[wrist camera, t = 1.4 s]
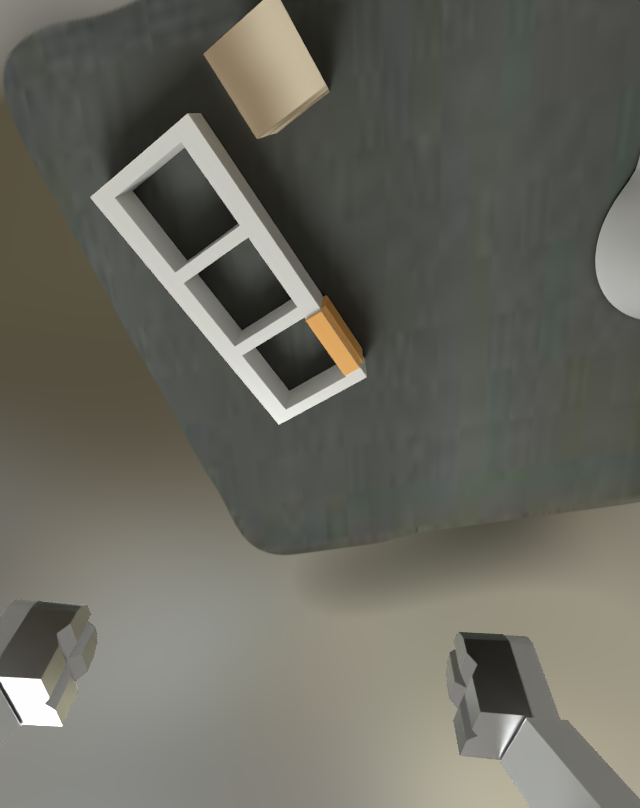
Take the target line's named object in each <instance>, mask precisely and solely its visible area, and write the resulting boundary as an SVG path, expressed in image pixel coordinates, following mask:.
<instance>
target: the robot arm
mask: <svg viewBox="0 0 640 808" xmlns="http://www.w3.org/2000/svg"><path fill="white" fill-rule="evenodd" d="M595 264H596V274H597V278H598V282H599V285H600V287H601V289H602V291H603V293H604V295H605V296H606V298H607V299H608V300H609V301H610V303H611V304H612V305H613V306H614V307H616V308H617V309H618V310H620V311H621V312H623V313H625V314H627V315H629V316H631V317H634V318H637V319H640V157H639V160H638V164H637V167H636V170H635V172H634V173H633V175H632V177H631V178H630V180H629V182H628V183H627V184H626V186H625V187H624V189H623V190H622V191H621V193H620V194H619V196H618V197H617V199H616V200H615V202H614V203H613V205H612V207H611V209H610V210H609V212H608V214H607V216H606V218H605V221H604V223H603V225H602V228H601V231H600V234H599V238H598V242H597V247H596V258H595ZM90 615H91V613H90V610H89V608H88V606H87V605H79V604H66V603H53V602H42V601H30V600H15V601H13V602H12V603H11V604H10V605H9V606H8V607H7V608H6V609H5V611H4V612H3V613H2V615H1V616H0V748H1V747H2V746H3V745H4V744H5V743H6V742H7V741H8V740H9V739H10V738H11V737H12V736H13V735H14V734H15V733H16V732H17V731H18V730H19V729H20V728H21V724H24V725H26V724H27V725H47V726H63V724H64V722H65V720H66V718H67V716H68V713H69V711H70V709H71V707H72V705H73V702H74V700H75V698H76V696H77V694H78V690H77V685H76V681H77V680H78V679H79V678H80V677H81V676H82V675H84V674H85V673H86V672H87V671H88V669H89V667H90V665H91V662H92V660H93V658H94V654H95V650H96V646H97V631H96V628H95V626H94V625H93V624H91V623H90V622H89V621H88V619H89V617H90ZM454 645H455V650H453V651H451V652H450V653H449V656H448V659H447V666H446V681H447V689H448V695H449V698H450V700H451V701H452V702H453V703H454V705H455V706H456V707H457V712H456V714H455V717H454V719H453V723H454V728H455V733H456V739H457V744H458V749H459V755H460V756H467V757H477V758H487V759H496V760H501V761H500V763H501V765H502V766H503V767H504V769H505V770H506V772H507V773H508V775H509V776H510V778H511V780H512V781H513V783H514V784H515V786H516V787H517V789H518V790H519V792H520V793H521V795H522V796H523V798H524V799H525V800H526V802H527V804H528V805H529V807H530V808H640V799H639V798H638V796H637V795H636V794H635V793H634V792H633V791H632V790H631V789H630V788H629V787H628V786H627V785H626V784H625V782H624V781H623V780H622V779H621V778H620V777H619V776H618V775H617V774H616V773H615V771H613V769H612V768H611V767H610V766H609V765H608V764H607V763H606V762H605V761H604V759H603V758H602V757H601V756H600V755H599V754H598V753H597V752H596V751H595V750H594V749H593V747H592V746H591V745H590V744H589V743H588V742H587V741H586V740H585V739H584V738H583V737H582V735H581V734H580V733H579V732H578V731H577V730H576V729H575V728H574V727H573V726H572V725H571V724H570V722H569V721H568V720H560V717H559V714H558V711H557V709H556V706H555V703H554V700H553V698H552V695H551V692H550V689H549V686H548V684H547V681H546V679H545V675H544V673H543V670H542V667H541V664H540V662H539V659H538V656H537V654H536V651H535V648H534V646H533V643H532V642H531V640H530V639H529V638H528V637H525V636H511V635H503V634H486V633H485V634H484V633H467V632H459V633H458V634H456V636H455V639H454Z"/></svg>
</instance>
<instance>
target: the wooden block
mask: <svg viewBox="0 0 640 808" xmlns="http://www.w3.org/2000/svg"><path fill="white" fill-rule="evenodd" d="M204 56H205V57H206V59H207V61H208V62H209V64H210V65H211V67H212V69H213V70H214V72H215V73H216V75H217V76H218V78H219V80H220V81H221V83H222V84H223V86H224V88H225V89H226V91H227V92H228V94H229V95H230V97H231V99H232V100H233V102H234V103H235V105H236V107H237V108H238V110H239V111H240V113H241V114H242V116H243V118H244V119H245V121H246V122H247V124H248V126H249V127H250V129H251V130H252V132H253V134H254V135H255V137H256V138H257V139H259V138H262V137H265V136H268V135H271V134H275V133H278V132H279V131H280V130H281V129H283V128H284V127H285V126H286V125H288V124H289V123H290V122H292V121H293V120H294V119H295V118H297V117H298V116H299V115H301V114H302V113H303V112H304V111H306V110H307V109H308V108H310V107H311V106H312V105H313V104H315V103H316V102H317V101H318V100H320V99H321V98H322V97H324V96H325V95H326V94H327V93H329V92H330V91H329V89H328V87H327V85H326V83H325V82H324V80H323V78H322V76H321V74H320V72H319V71H318V69H317V67H316V65H315V63H314V61H313V59H312V58H311V56H310V54H309V52H308V50H307V48H306V46H305V45H304V43H303V41H302V39H301V37H300V35H299V34H298V32H297V30H296V28H295V26H294V24H293V22H292V21H291V19H290V17H289V15H288V13H287V11H286V9H285V8H284V6H283V4H282V2H281V0H263V1H262V2H260V3H259V4H258V5H257V6H256V7H255V8H254V9H253V10H252V11H250V12H249V13H248V14H247V15H246V16H245V17H244V18H243V19H242V20H241V21H239V22H238V23H237V24H236V25H235V26H234V27H233V28H232V29H231V30H229V31H228V32H227V33H226V34H225V35H224V36H223V37H222V38H221V39H219V40H218V41H217V42H216V43H215V44H214V45H213V46H212V47H211V48H209V49H208V50H207V51H206V52H205V53H204Z"/></svg>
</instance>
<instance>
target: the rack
mask: <svg viewBox="0 0 640 808" xmlns="http://www.w3.org/2000/svg"><path fill="white" fill-rule="evenodd" d="M184 148H186V150H187V151H188V152H189V154H190V155H191V157H192V158H193V160H194V161H195V162H196V164H197V165H198V167H199V168H200V169H201V171H202V172H203V174H204V175H205V177H206V178H207V179H208V181H209V182H210V184H211V185H212V187H213V188H214V189H215V191H216V192H217V194H218V195H219V196H220V198H221V199H222V201H223V202H224V204H225V205H226V206H227V208H228V209H229V211H230V212H231V214H232V215H233V216H234V218H235V219H236V221H237V222H238V224H237V225H236V226H234V227H233V228H232V229H230V230H229V231H228V232H226V233H225V234H223V235H222V236H221V237H219V238H218V239H217V240H215V241H214V242H213V243H211V244H210V245H208V246H207V247H206V248H204V249H203V250H202V251H200V252H199V253H197V254H196V255H195V256H193V257H192V258H191V259H189V260H188V261H187V260H186V258H185V257H184V256H183V255H182V253H181V252H180V251H179V249H178V248H177V247H176V246H175V244H174V243H173V242H172V241H171V239H170V238H169V237H168V235H167V234H166V233H165V232H164V230H163V229H162V228H161V226H160V225H159V224H158V223H157V221H156V220H155V219H154V218H153V216H152V215H151V214H150V212H149V211H148V210H147V209H146V207H145V206H144V205H143V204H142V202H141V201H140V200H139V198H138V197H137V196H136V195H135V193H134V192H133V190H134V189H136V188H137V187H138V186H139V185H140V184H142V183H143V182H144V181H145V180H146V179H148V178H149V177H150V176H151V175H152V174H154V173H155V172H156V171H157V170H158V169H160V168H161V167H162V166H163V165H164V164H166V163H167V162H168V161H169V160H170V159H172V158H173V157H174V156H175V155H176V154H178V153H179V152H180V151H181V150H182V149H184ZM90 198H91V199H92V200H93V201H94V203H95V204H96V205H97V206H98V207H99V209H100V210H101V211H102V212H103V213H104V215H105V216H106V217H107V218H108V219H109V221H110V222H111V223H112V224H113V225H114V227H115V228H116V229H117V230H118V231H119V233H120V234H121V235H122V236H123V237H124V239H125V240H126V241H127V242H128V244H129V245H130V246H131V247H132V248H133V250H134V251H135V252H136V253H137V254H138V256H139V257H140V258H141V259H142V260H143V262H144V263H145V264H146V265H147V266H148V268H149V269H150V270H151V271H152V272H153V274H154V275H155V276H156V277H157V278H158V280H159V281H160V282H161V283H162V284H163V286H164V287H165V288H166V289H167V290H168V292H169V293H170V294H171V295H172V296H173V298H174V299H175V300H176V301H177V302H178V304H179V305H180V306H181V307H182V309H183V310H184V311H185V312H186V313H187V315H188V316H189V317H190V318H191V319H192V321H193V322H194V323H195V324H196V325H197V327H198V328H199V329H200V330H201V331H202V333H203V334H204V335H205V336H206V337H207V339H208V340H209V341H210V342H211V343H212V345H213V346H214V347H215V348H216V349H217V351H218V352H219V353H220V354H221V355H222V357H223V358H224V359H225V360H226V361H227V363H228V364H229V365H230V366H231V368H232V369H233V370H234V371H235V372H236V374H237V375H238V376H239V377H240V378H241V380H242V381H243V382H244V383H245V384H246V386H247V387H248V388H249V389H250V390H251V392H252V393H253V394H254V395H255V396H256V398H257V399H258V400H259V401H260V402H261V404H262V405H263V406H264V407H265V408H266V410H267V411H268V412H269V413H270V414H271V416H272V417H273V418H274V419H275V420H276V422H277V423H278V424H281V423H283V422H285V421H287V420H289V419H290V418H292V417H294V416H296V415H298V414H300V413H301V412H303V411H305V410H307V409H309V408H311V407H313V406H314V405H316V404H318V403H320V402H322V401H324V400H325V399H327V398H329V397H331V396H333V395H335V394H337V393H338V392H340V391H342V390H344V389H346V388H348V387H349V386H351V385H353V384H355V383H357V382H359V381H361V380H362V379H364V378H366V377H367V374H366V363H365V358H364V357H363V353H362V348H361V346H360V345H359V343H358V342H357V340H356V339H355V337H354V336H353V334H352V333H351V331H350V330H349V328H348V326H347V325H346V323H345V322H344V320H343V319H342V317H341V316H340V314H339V313H338V311H337V310H336V308H335V307H334V305H333V304H332V302H331V301H330V299H329V298H328V296H327V295H326V296H324V297H323V296H322V294H321V293H320V291H319V290H318V288H317V287H316V285H315V284H314V282H313V281H312V279H311V278H310V276H309V275H308V273H307V272H306V270H305V269H304V267H303V266H302V264H301V263H300V261H299V260H298V258H297V257H296V255H295V254H294V252H293V251H292V249H291V248H290V246H289V245H288V243H287V242H286V240H285V239H284V237H283V236H282V234H281V233H280V231H279V230H278V228H277V227H276V225H275V224H274V222H273V221H272V219H271V218H270V216H269V215H268V213H267V212H266V210H265V209H264V207H263V206H262V204H261V203H260V201H259V200H258V198H257V197H256V195H255V194H254V192H253V191H252V189H251V188H250V186H249V185H248V183H247V182H246V180H245V179H244V177H243V176H242V174H241V173H240V171H239V170H238V168H237V167H236V165H235V164H234V162H233V161H232V159H231V158H230V156H229V155H228V153H227V152H226V150H225V149H224V147H223V146H222V144H221V143H220V141H219V140H218V138H217V137H216V135H215V134H214V132H213V131H212V129H211V128H210V126H209V125H208V123H207V122H206V120H205V119H204V117H203V116H202V114H201V113H188V114H186V115H185V116H184V117H183V118H182V119H181V120H179V121H178V122H177V123H176V124H175V125H174V126H173V127H171V128H170V129H169V130H168V131H167V132H166V133H164V134H163V135H162V136H161V137H160V138H159V139H157V140H156V141H155V142H154V143H153V144H152V145H150V146H149V147H148V148H147V149H146V150H145V151H143V152H142V153H141V154H140V155H139V156H138V157H137V158H135V159H134V160H133V161H132V162H131V163H130V164H128V165H127V166H126V167H125V168H124V169H123V170H121V171H120V172H119V173H118V174H117V175H116V176H114V177H113V178H112V179H111V180H110V181H109V182H108V183H106V184H105V185H104V186H103V187H102V188H101V189H99V190H98V191H97V192H96V193H95V194H94V195H92V196H91V197H90ZM246 238H249V239H250V241H251V242H252V243H253V245H254V246H255V248H256V249H257V251H258V252H259V253H260V255H261V256H262V258H263V259H264V260H265V262H266V263H267V265H268V266H269V268H270V269H271V270H272V272H273V273H274V275H275V276H276V278H277V279H278V280H279V282H280V283H281V285H282V286H283V287H284V289H285V290H286V292H287V293H288V295H289V296H290V297H291V300H289V301H288V302H286V303H284V304H283V305H281V306H280V307H278V308H277V309H275V310H273V311H272V312H270V313H269V314H267V315H266V316H264V317H263V318H261V319H259V320H258V321H256V322H255V323H253V324H252V325H250V326H248V327H247V328H245V329H244V330H241V329H240V327H239V326H238V325H237V323H236V322H235V321H234V320H233V318H232V317H231V316H230V314H229V313H228V312H227V311H226V309H225V308H224V307H223V306H222V304H221V303H220V302H219V300H218V299H217V298H216V297H215V295H214V294H213V293H212V292H211V290H210V289H209V288H208V286H207V285H206V284H205V283H204V281H203V280H202V279H201V278H200V276H199V275H198V274H197V273H199V272H200V271H202V270H203V269H204V268H206V267H207V266H209V265H210V264H211V263H213V262H214V261H216V260H217V259H218V258H220V257H221V256H223V255H224V254H225V253H227V252H228V251H230V250H231V249H232V248H234V247H235V246H237V245H238V244H239V243H241V242H242V241H244V240H245V239H246ZM304 317H305V319H306V322H307V323H308V325H309V326H310V328H311V329H312V330H313V332H314V333H315V335H316V336H317V337H318V339H319V340H320V342H321V343H322V345H323V346H324V347H325V349H326V350H327V352H328V353H329V354H330V356H331V357H332V359H333V360H334V362H335V363H336V365H334V366H332V367H331V368H329V369H327V370H325V371H323V372H322V373H320V374H318V375H316V376H315V377H313V378H311V379H309V380H308V381H306V382H304V383H302V384H300V385H299V386H297V387H295V388H293V389H292V390H290V391H289V390H288V388H287V387H286V386H285V385H284V383H283V382H282V381H281V380H280V378H279V377H278V376H277V374H276V373H275V372H274V371H273V369H272V368H271V367H270V366H269V364H268V363H267V362H266V360H265V359H264V358H263V357H262V355H261V354H260V353H259V351H258V350H257V349H256V348H255V347H257V346H258V345H260V344H262V343H263V342H265V341H267V340H268V339H270V338H271V337H273V336H275V335H276V334H278V333H280V332H281V331H283V330H284V329H286V328H288V327H289V326H291V325H292V324H294V323H296V322H297V321H299V320H301V319H302V318H304Z"/></svg>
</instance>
